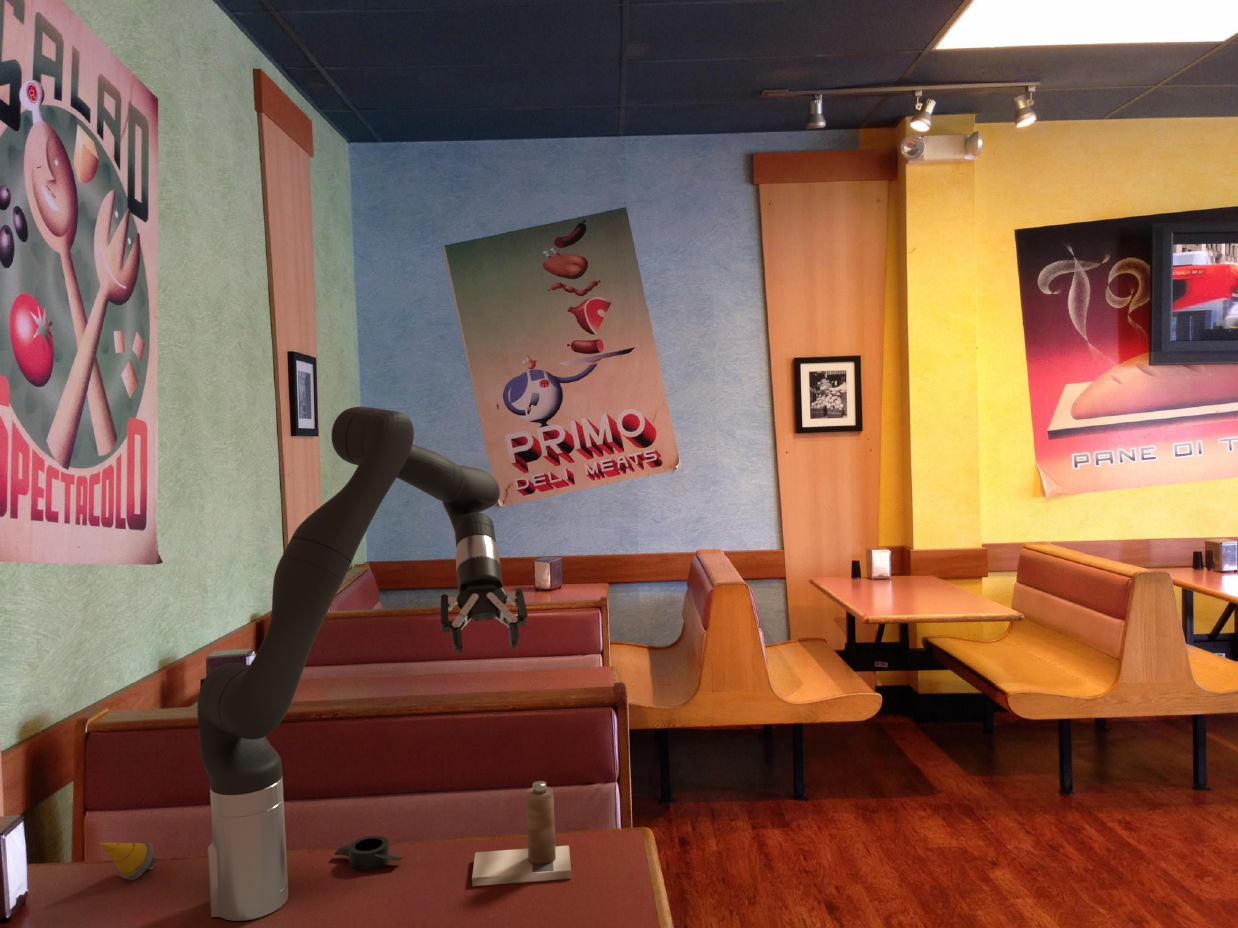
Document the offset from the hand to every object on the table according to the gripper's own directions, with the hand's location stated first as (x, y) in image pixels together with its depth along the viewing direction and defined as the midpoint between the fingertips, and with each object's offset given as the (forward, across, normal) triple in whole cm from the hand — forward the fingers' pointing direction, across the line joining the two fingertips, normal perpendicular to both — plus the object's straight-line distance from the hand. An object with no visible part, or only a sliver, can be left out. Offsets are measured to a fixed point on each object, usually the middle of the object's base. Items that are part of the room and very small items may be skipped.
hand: (487, 648), depth 148 cm
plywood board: (+32, +2, +8) cm, 33 cm away
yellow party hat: (+23, -53, +18) cm, 61 cm away
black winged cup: (+26, -19, +15) cm, 36 cm away
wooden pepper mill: (+32, +5, +7) cm, 33 cm away
